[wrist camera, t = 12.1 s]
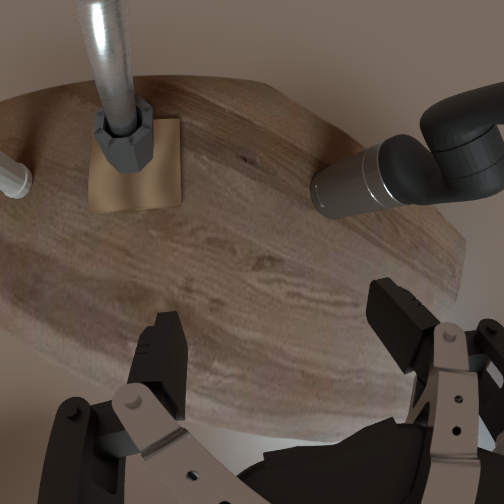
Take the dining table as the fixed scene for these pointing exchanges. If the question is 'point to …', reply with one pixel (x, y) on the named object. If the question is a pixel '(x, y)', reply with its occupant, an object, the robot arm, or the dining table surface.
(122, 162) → the collar
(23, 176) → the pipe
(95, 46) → the post
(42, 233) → the dining table surface
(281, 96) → the dining table surface
